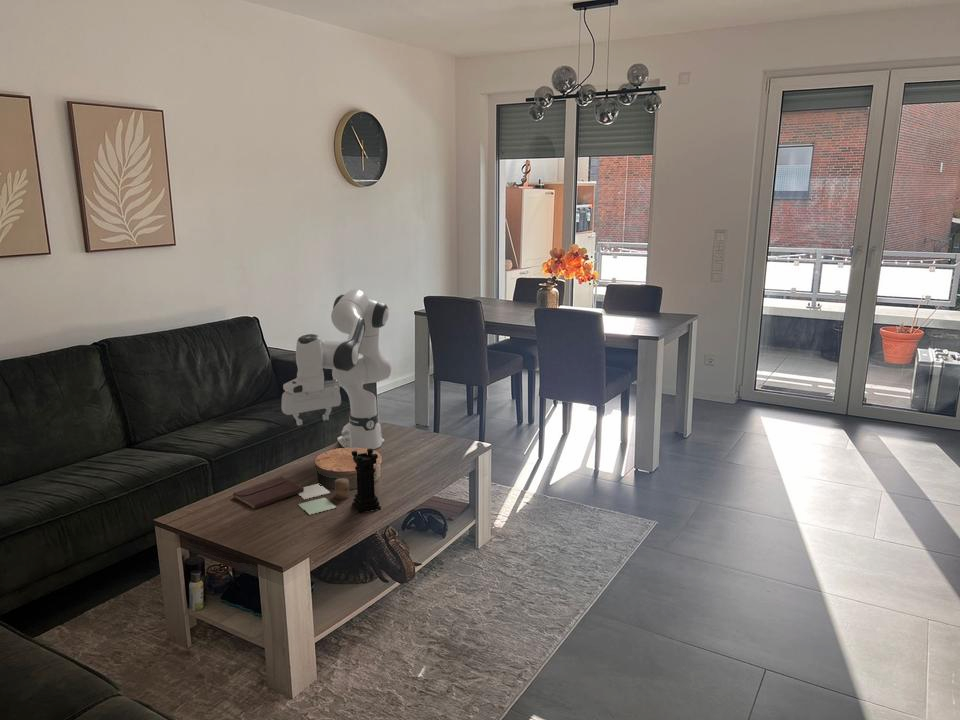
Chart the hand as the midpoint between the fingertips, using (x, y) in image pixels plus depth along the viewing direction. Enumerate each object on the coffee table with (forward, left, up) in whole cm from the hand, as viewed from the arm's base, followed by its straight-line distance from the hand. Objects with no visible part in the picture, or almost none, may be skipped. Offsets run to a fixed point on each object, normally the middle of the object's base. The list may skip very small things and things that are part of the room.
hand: (312, 422), depth 240 cm
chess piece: (+10, +14, -31) cm, 36 cm away
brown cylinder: (-3, +11, -31) cm, 33 cm away
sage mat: (0, 0, -31) cm, 31 cm away
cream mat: (-13, +4, -31) cm, 34 cm away
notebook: (-20, -10, -31) cm, 38 cm away
